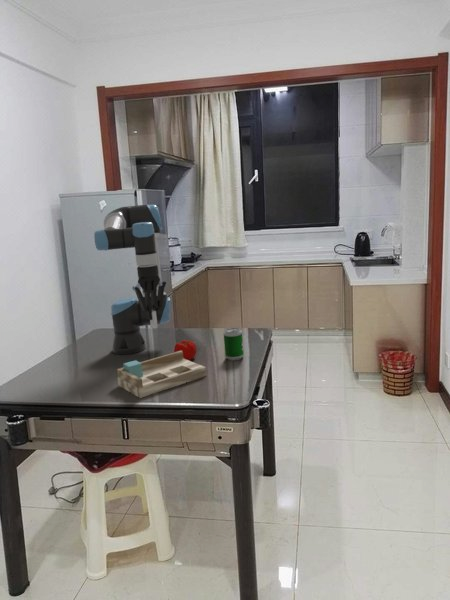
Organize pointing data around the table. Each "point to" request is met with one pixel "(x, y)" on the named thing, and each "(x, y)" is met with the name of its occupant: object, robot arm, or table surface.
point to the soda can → (233, 344)
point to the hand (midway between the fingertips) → (154, 327)
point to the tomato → (186, 349)
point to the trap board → (160, 374)
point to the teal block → (134, 368)
